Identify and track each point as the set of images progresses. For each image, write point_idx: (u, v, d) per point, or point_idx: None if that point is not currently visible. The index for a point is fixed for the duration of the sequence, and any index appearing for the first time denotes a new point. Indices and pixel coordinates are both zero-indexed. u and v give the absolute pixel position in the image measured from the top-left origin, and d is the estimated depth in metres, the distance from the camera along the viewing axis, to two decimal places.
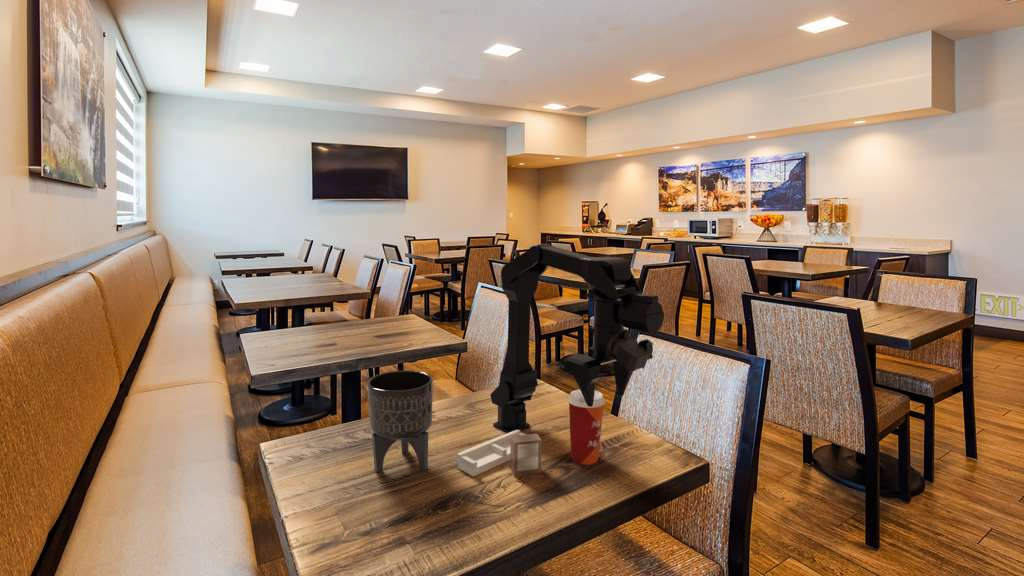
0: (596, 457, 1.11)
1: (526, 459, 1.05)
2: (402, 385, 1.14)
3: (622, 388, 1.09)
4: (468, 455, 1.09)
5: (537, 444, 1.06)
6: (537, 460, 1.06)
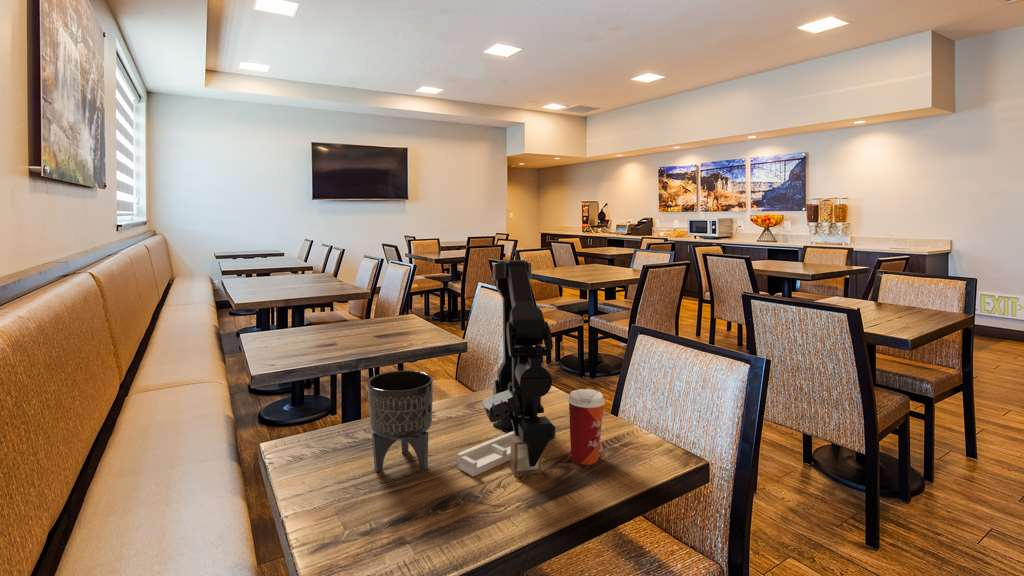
0: (596, 457, 1.11)
1: (526, 459, 1.05)
2: (402, 385, 1.14)
3: None
4: (468, 455, 1.09)
5: None
6: None
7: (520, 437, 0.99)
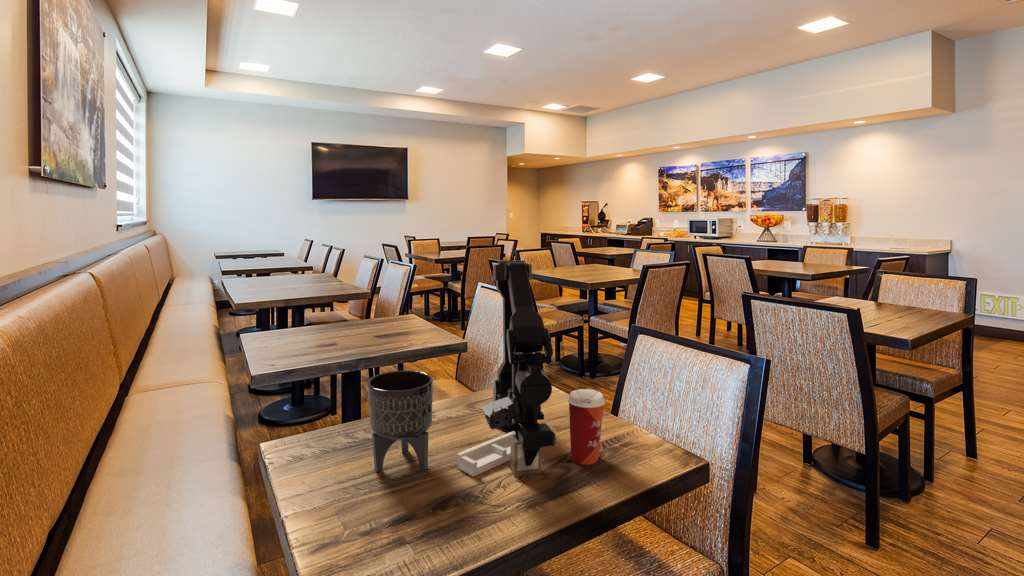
0: (596, 457, 1.11)
1: None
2: (402, 385, 1.14)
3: None
4: (468, 455, 1.09)
5: None
6: (537, 460, 1.06)
7: (516, 437, 1.02)
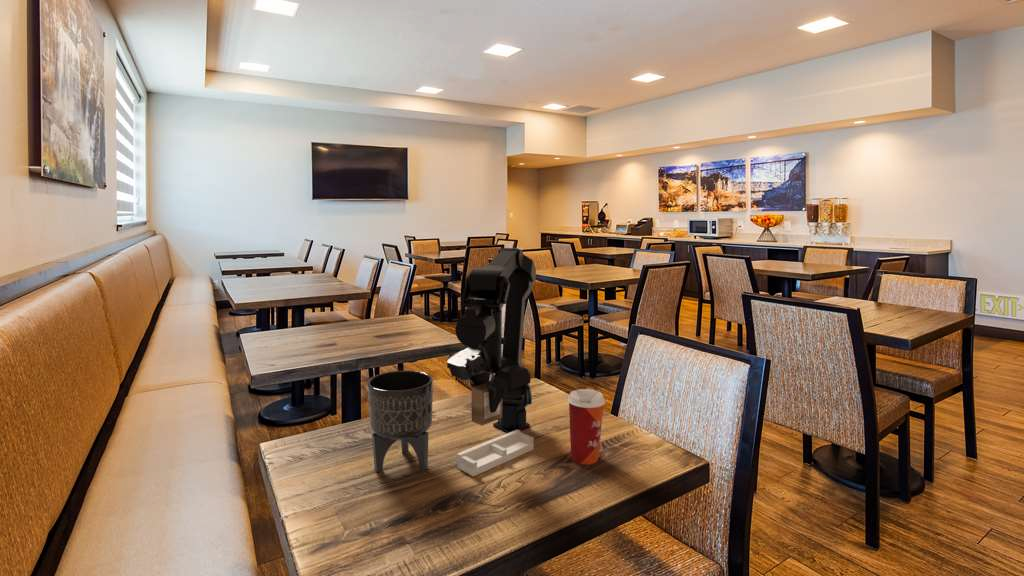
0: (596, 457, 1.11)
1: None
2: (402, 385, 1.14)
3: None
4: (468, 455, 1.09)
5: None
6: (499, 405, 1.08)
7: (488, 384, 1.02)
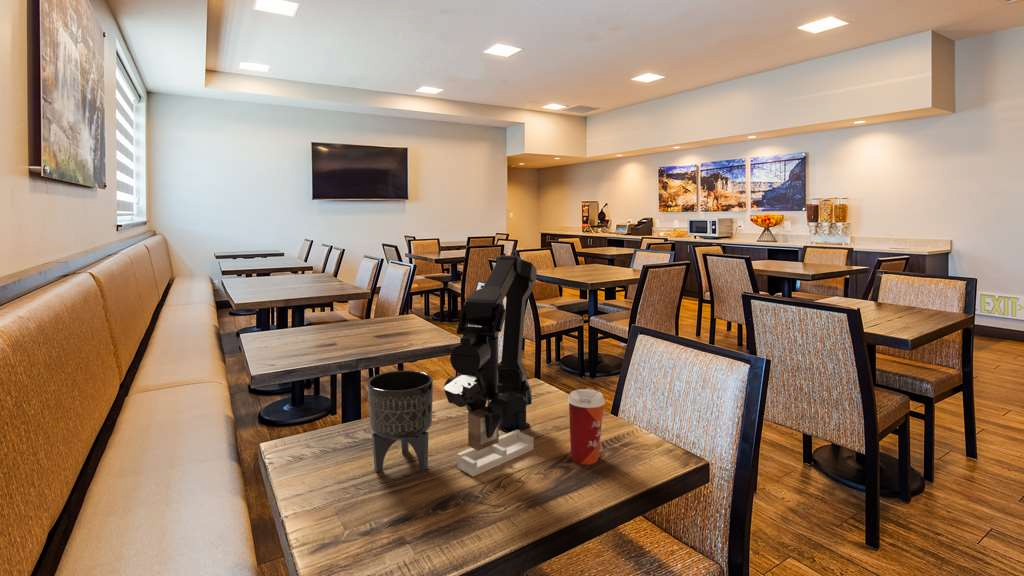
0: (596, 457, 1.11)
1: None
2: (402, 385, 1.14)
3: None
4: (468, 455, 1.09)
5: None
6: (495, 430, 1.09)
7: (485, 410, 1.03)
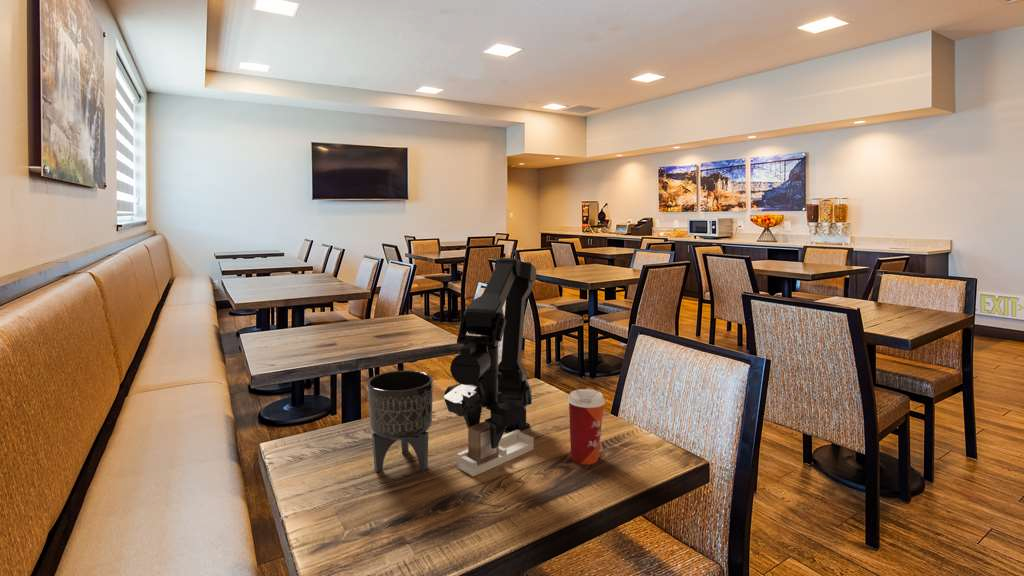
0: (596, 457, 1.11)
1: (487, 445, 1.08)
2: (402, 385, 1.14)
3: None
4: None
5: None
6: None
7: (489, 421, 1.02)
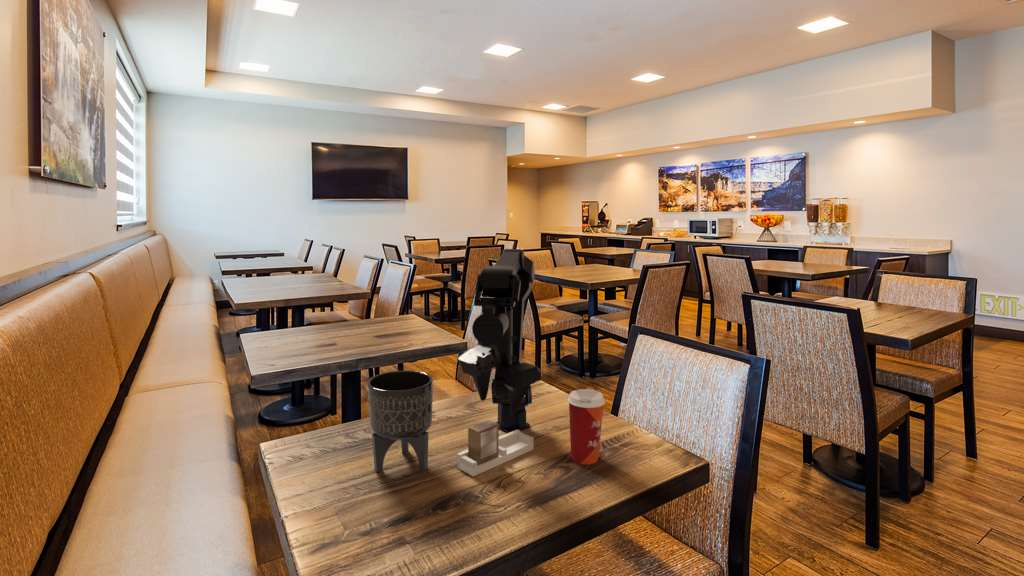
0: (596, 457, 1.11)
1: (487, 445, 1.08)
2: (402, 385, 1.14)
3: None
4: None
5: (495, 429, 1.09)
6: (495, 445, 1.09)
7: (509, 385, 1.01)
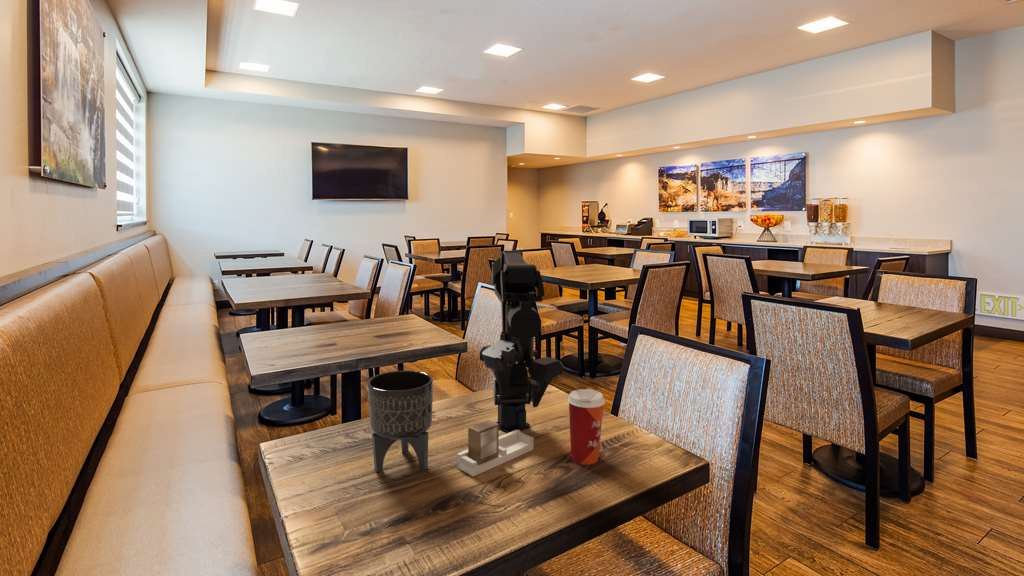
0: (596, 457, 1.11)
1: (487, 445, 1.08)
2: (402, 385, 1.14)
3: None
4: None
5: (495, 429, 1.09)
6: (495, 445, 1.09)
7: (532, 379, 1.03)
